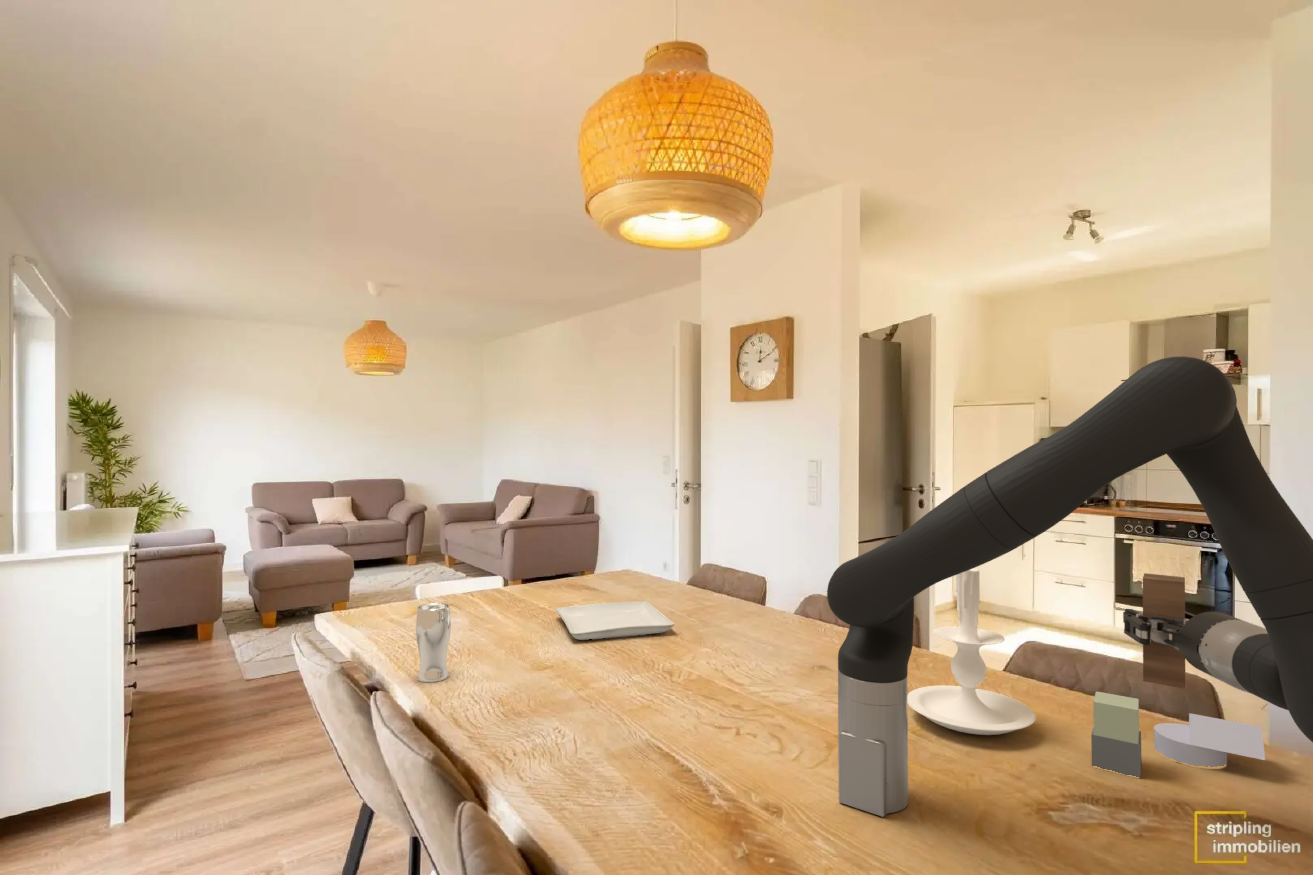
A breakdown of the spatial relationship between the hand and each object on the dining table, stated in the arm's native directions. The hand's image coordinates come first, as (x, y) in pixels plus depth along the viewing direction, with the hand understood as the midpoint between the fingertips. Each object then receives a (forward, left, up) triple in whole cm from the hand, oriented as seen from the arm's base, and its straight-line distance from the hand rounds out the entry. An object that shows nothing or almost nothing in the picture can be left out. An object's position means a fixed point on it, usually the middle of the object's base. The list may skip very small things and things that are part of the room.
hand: (1153, 617), depth 95 cm
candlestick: (+12, +27, -25) cm, 39 cm away
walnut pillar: (-2, -1, -8) cm, 8 cm away
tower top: (+7, +5, -20) cm, 22 cm away
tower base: (+7, +5, -25) cm, 26 cm away
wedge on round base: (+18, -6, -25) cm, 32 cm away
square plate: (+20, +119, -25) cm, 123 cm away
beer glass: (-33, +122, -25) cm, 129 cm away
